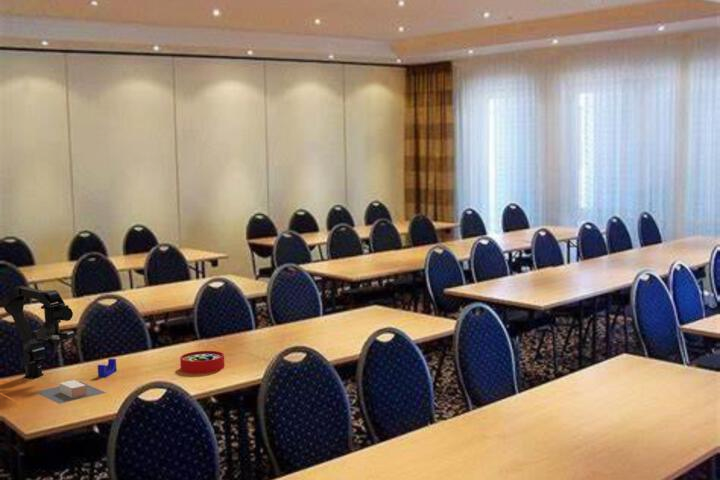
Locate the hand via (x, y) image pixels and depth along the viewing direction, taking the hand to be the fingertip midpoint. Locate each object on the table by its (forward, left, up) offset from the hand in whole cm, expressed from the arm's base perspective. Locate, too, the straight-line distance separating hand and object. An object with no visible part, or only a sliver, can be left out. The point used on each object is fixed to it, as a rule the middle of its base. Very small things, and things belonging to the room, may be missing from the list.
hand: (54, 353), depth 361 cm
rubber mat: (+19, -16, -12) cm, 28 cm away
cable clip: (+17, +13, -12) cm, 25 cm away
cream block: (+17, -15, -9) cm, 24 cm away
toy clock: (+56, +32, -12) cm, 66 cm away
